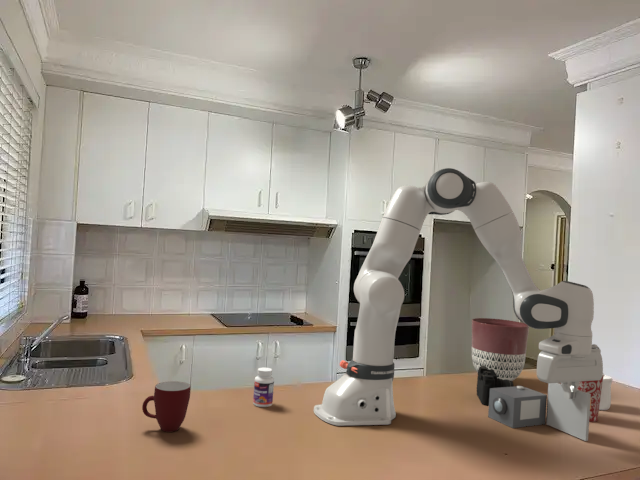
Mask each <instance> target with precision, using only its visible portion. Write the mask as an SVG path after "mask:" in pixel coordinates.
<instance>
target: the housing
mask: <svg viewBox="0 0 640 480" xmlns="http://www.w3.org/2000/svg"><path fill="white" fill-rule="evenodd" d="M513 386H514V385H513ZM547 397H548V394H546V393H545V394H544V393H542V392H540V391H537V390H534V389H531V388H529V387H525V386H522V385H516V386H514V387H501V388H490V395H489V406H488V413H487V414H488V416H487V417H488V418H490V419H492V420H494V421H496V422H499V423H500V424H502V425H505V426H507V427H509V428H511V429H516V428H517V429H518V428H525V427H526V426H527V427H534V425H535V426H542V424H543V425H546V413H547Z"/></svg>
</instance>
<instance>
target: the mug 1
mask: <svg viewBox="0 0 640 480" xmlns="http://www.w3.org/2000/svg"><path fill="white" fill-rule="evenodd" d="M191 387H192V386H191V384H189V383H187V382H185V381H177V380H175V381H173V380H172V381H171V380H170V381H164V382H163V381H162V382H159V383H157V384H155V386H154V393H153V395H149V396H147V397H146V398H145V399H144V401H143V402H142V407H141V408H142V412H143V414H144V415H145V416H146V417H148V418H151V419H156V422H157V424H158V425H159V427H160V430H161V431H163V432H167V433H168V432H169V433H170V432H171V433H173V432H176V431H179V429H180V428H181V426H182V424H183V423H184V420H185V418H186V415H187V412H188V411H187V410H188V407H189V402H190V399H191V398H190V397H191V389H192V388H191ZM149 402H153V403H154V409H155V410H154V411H155V414H153V413H150V412H149V411H148V403H149Z"/></svg>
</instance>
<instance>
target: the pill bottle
mask: <svg viewBox="0 0 640 480" xmlns="http://www.w3.org/2000/svg"><path fill="white" fill-rule="evenodd" d="M272 375H273V368H270V367H258V368H257V376H255V378H254V382H253V383H254V385H253V397H252V399H253V400H252V404H253V405H254V406H255V407H259V408H267V407H271V406H273V403H274V402H273V400H274V388H275V387H274V386H275V378H274V377H273V376H272Z"/></svg>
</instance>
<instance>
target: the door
mask: <svg viewBox="0 0 640 480" xmlns="http://www.w3.org/2000/svg"><path fill="white" fill-rule="evenodd" d="M590 409H591V394H589V393H586V392H583V391H580V390H576V392H575V398H574V399H566V398H564V390H563V388H562V386H561V384H560V383H547V404H546V421H545V425H547V426H550V427H552V428H554V429H557V430H559V431H562V432H564V433H566V434H567V435H568V434H569V435H571V436H572V437H574V438H578V439H580V440H582V441H585V442H587V441H589V430H590V422H589V416H590Z"/></svg>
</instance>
